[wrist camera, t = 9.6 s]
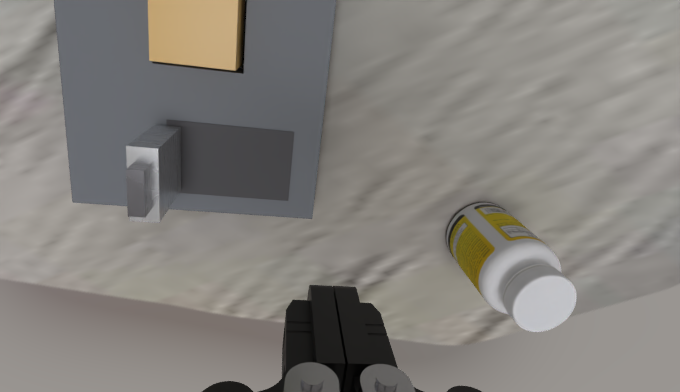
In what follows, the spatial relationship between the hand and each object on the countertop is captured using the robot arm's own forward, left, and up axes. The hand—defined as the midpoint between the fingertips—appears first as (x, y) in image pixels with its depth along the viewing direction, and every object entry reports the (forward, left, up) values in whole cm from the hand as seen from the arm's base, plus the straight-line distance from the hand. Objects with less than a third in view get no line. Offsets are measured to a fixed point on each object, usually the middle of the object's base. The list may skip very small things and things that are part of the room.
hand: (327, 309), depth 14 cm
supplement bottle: (+5, +14, -18) cm, 24 cm away
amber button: (-8, -7, -18) cm, 20 cm away
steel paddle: (0, -9, -15) cm, 17 cm away
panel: (-7, -7, -18) cm, 21 cm away
